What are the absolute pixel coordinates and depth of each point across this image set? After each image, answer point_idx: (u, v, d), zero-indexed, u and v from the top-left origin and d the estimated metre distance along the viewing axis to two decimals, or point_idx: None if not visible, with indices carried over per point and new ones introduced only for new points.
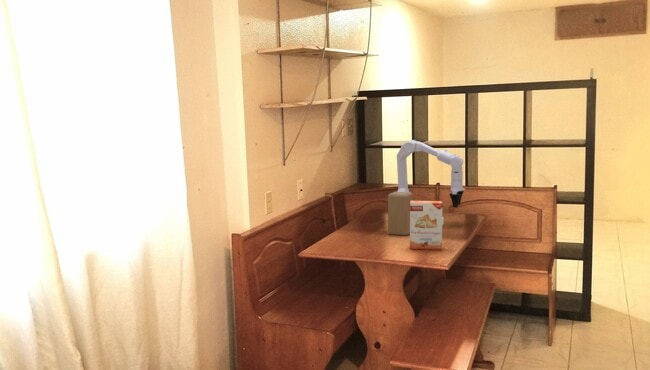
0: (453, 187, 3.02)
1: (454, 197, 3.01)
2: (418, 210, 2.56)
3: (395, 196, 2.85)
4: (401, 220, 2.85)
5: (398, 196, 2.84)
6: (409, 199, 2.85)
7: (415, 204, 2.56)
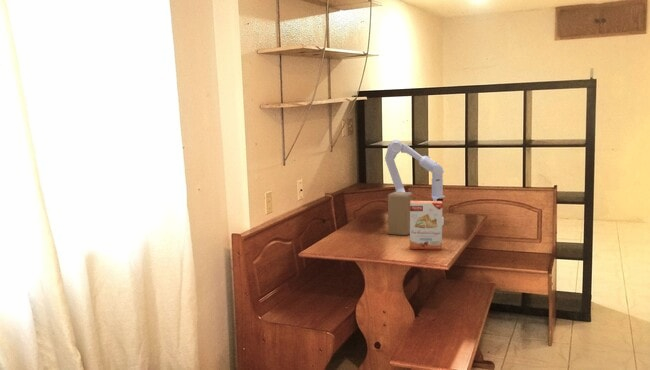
0: (433, 194, 3.11)
1: None
2: (418, 210, 2.56)
3: (395, 196, 2.85)
4: (401, 220, 2.85)
5: (398, 196, 2.84)
6: (409, 199, 2.85)
7: (415, 204, 2.56)
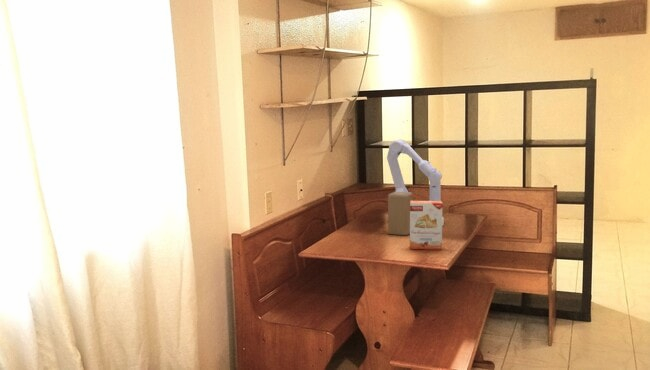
0: None
1: None
2: (418, 210, 2.56)
3: (395, 196, 2.85)
4: (401, 220, 2.85)
5: (398, 196, 2.84)
6: (409, 199, 2.85)
7: (415, 204, 2.56)
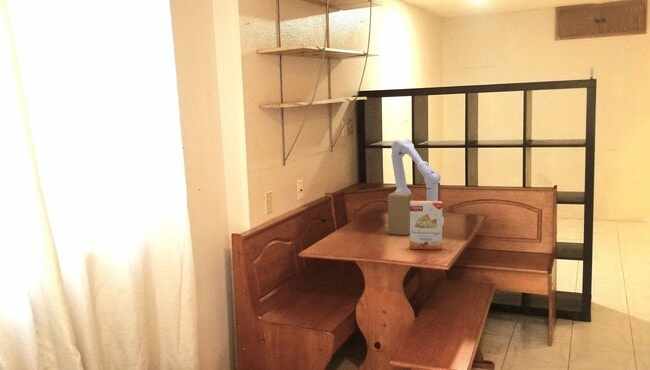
0: None
1: None
2: (418, 210, 2.56)
3: (395, 196, 2.85)
4: (401, 220, 2.85)
5: (398, 196, 2.84)
6: (409, 199, 2.85)
7: (415, 204, 2.56)
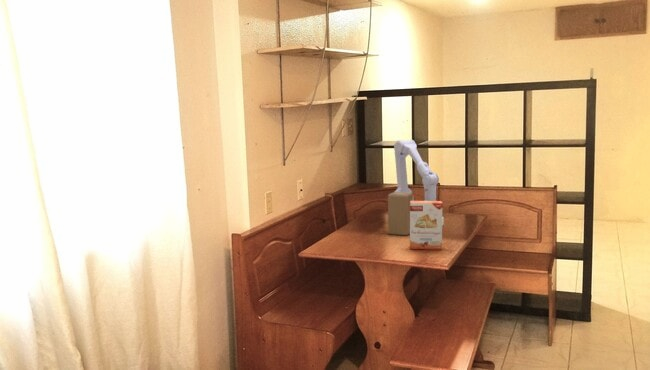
0: None
1: None
2: (418, 210, 2.56)
3: (395, 196, 2.85)
4: (401, 220, 2.85)
5: (398, 196, 2.84)
6: (409, 199, 2.85)
7: (415, 204, 2.56)
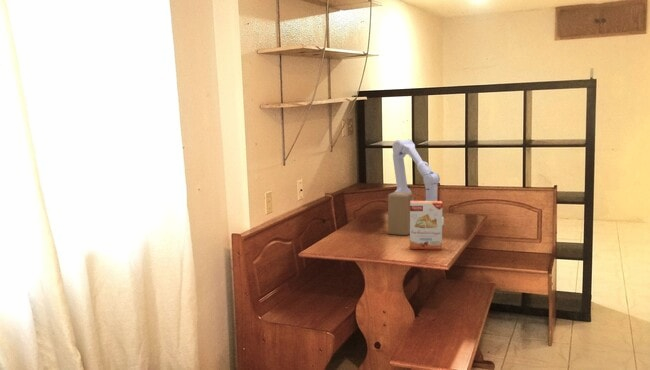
0: None
1: None
2: (418, 210, 2.56)
3: (395, 196, 2.85)
4: (401, 220, 2.85)
5: (398, 196, 2.84)
6: (409, 199, 2.85)
7: (415, 204, 2.56)
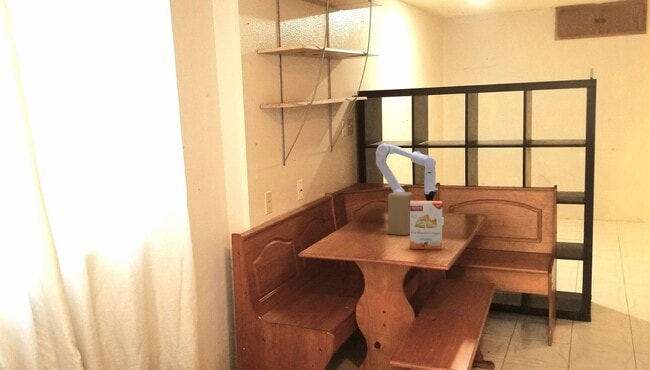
0: (426, 187, 3.09)
1: (428, 196, 3.11)
2: (418, 210, 2.56)
3: (395, 196, 2.85)
4: (401, 220, 2.85)
5: (398, 196, 2.84)
6: (409, 199, 2.85)
7: (415, 204, 2.56)
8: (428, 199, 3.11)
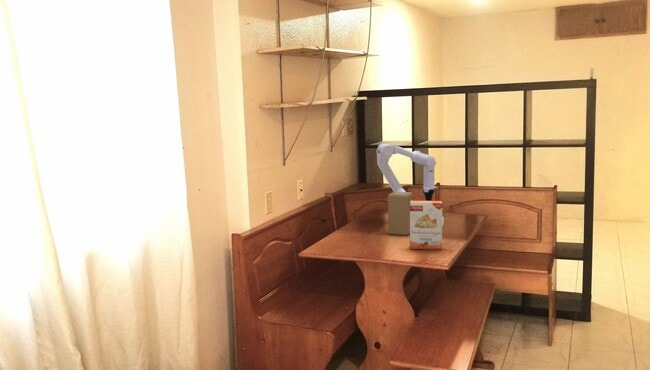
0: (425, 185, 3.15)
1: (427, 194, 3.17)
2: (418, 210, 2.56)
3: (395, 196, 2.85)
4: (401, 220, 2.85)
5: (398, 196, 2.84)
6: (409, 199, 2.85)
7: (415, 204, 2.56)
8: (427, 197, 3.18)
